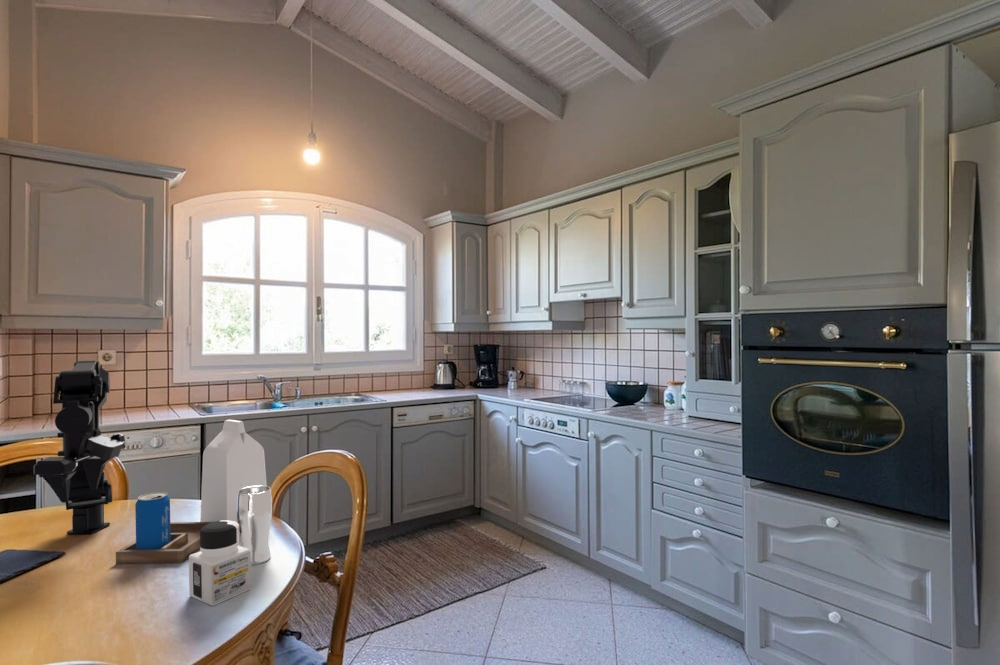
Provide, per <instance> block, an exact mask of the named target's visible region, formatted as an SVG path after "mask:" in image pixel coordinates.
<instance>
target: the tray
mask: <svg viewBox="0 0 1000 665" xmlns="http://www.w3.org/2000/svg"><path fill="white" fill-rule="evenodd" d="M209 523H212V522H200V521H185V522H184V521H183V522H182V521H181V522H180V521H176V522H175V521H173V522H171V521H170V537H171V542H170V543H168V544H167V545H165V546H164V547H162V548H161V550H136V540H134V541H132V542H130V543H129V544H127V545H126V546H124V547H122V548H120V549H119V550H117V551H115V565H128V564H175V563H176V564H179V563H180V564H181V563H184V562H185V561H186V560H189V556H190V555H191V554H194V553H197V552H200V530H201V529H202V528H203V527H204V526H206V525H207V524H209Z"/></svg>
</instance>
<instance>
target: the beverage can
mask: <svg viewBox="0 0 1000 665" xmlns="http://www.w3.org/2000/svg"><path fill="white" fill-rule="evenodd" d="M134 505H135V508H134V509H135V511H134V512H135V541H136V550H161V548H162V547H164V546H165V545H167V544H168V543H170V542H171V537H170V522H171V498H170V497H169V496H168V492H166V491H156V492H149V493H145V494H141V495H139V496H138V497H137V501H136V502H135V504H134Z"/></svg>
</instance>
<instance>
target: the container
mask: <svg viewBox="0 0 1000 665" xmlns="http://www.w3.org/2000/svg"><path fill="white" fill-rule="evenodd" d="M188 584H189V585H188V587H189V588H188V589H189V590H188V593H189V596H190V597H192V598H194V599H196V600H198V601H200V602H202V603H205V604H207V605H209V606H212V607H214V606H216V605H219V604H221V603H223V602H225V601H228V600H230V599H232V598H234V597H237V596H239V595H242V594H244V593H245V592H248V591H250V590H251V589H252V565H251V551H250V549H247V548H244V547H242V545H240V532H239V524H238V523H237V522H235V521H231V520H221V521H216V522H212V523H209V524H207V525H206V526H204V527H203V528H202V529H201V530H200V550H199V551H197V552H196V553H194V554H191V555H190V556H189V558H188Z"/></svg>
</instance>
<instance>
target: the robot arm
mask: <svg viewBox="0 0 1000 665" xmlns="http://www.w3.org/2000/svg"><path fill="white" fill-rule="evenodd" d="M54 379H55V381H54V389H53V390H54V391H53V399H52V400H53V405H59V404H61V405H62V406H61V410H60V411H59V412H58V413H57V415H56V416H55V419H54V424H55V427H56V428H57V429H58V430H59V431H60V432H57V438H59V439H60V438H61V439H62V450H58V451H57V456H50V457H46V458H43V459H41V460H37V462H36V463H35V464H33V475H34V476H37V475H38V477H39V478H43V479H44V481H45V483H47V484H48V485H49V486H50V488H51V489H52V491H53V492H54V493H55V495H56V496H57V498H58V499H59V501H60V502H61V503H64V504H65V510H66V511H69V510H72V516H71V519H72V520H71V522H72V523H71V526H72V527H71V529H70V530H67V531H66V534H67V535H76V534H77V535H80V534H82V535H83V534H84V535H85V534H88V535H89V534H90V535H91V534H94V533H96V532H98V531H100V530H102V529H104V528H106V527H108V526H110V525H111V522H105V509H104V507H105V506H104V505H109V503H112V502H113V490H112V484H110V482H109V479H106V474H105V472H104V470H105V467H106V466H107V464H108V463H109V462H110V461H112V460H113V459H115V458H118V457H120V454H121V452H122V449H125V448H126V440H125V439H126V438H125V435H124V434H122V433H119V432H117V433H115V434H113V435H112V436H103V435H101V433H102V432H101V430H100V410H101V409H102V408H103V407H104V405H105V404H106V403H107V400H108V394H110V393H111V378H110V372H108V371H107V370H105V369H104V368H103V367H101V365H100V361H99V360H98V361H97V360H78V361H74V365H73V368H72V370H61V371H59V373H58V376H57V375H56V376H55V378H54Z"/></svg>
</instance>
